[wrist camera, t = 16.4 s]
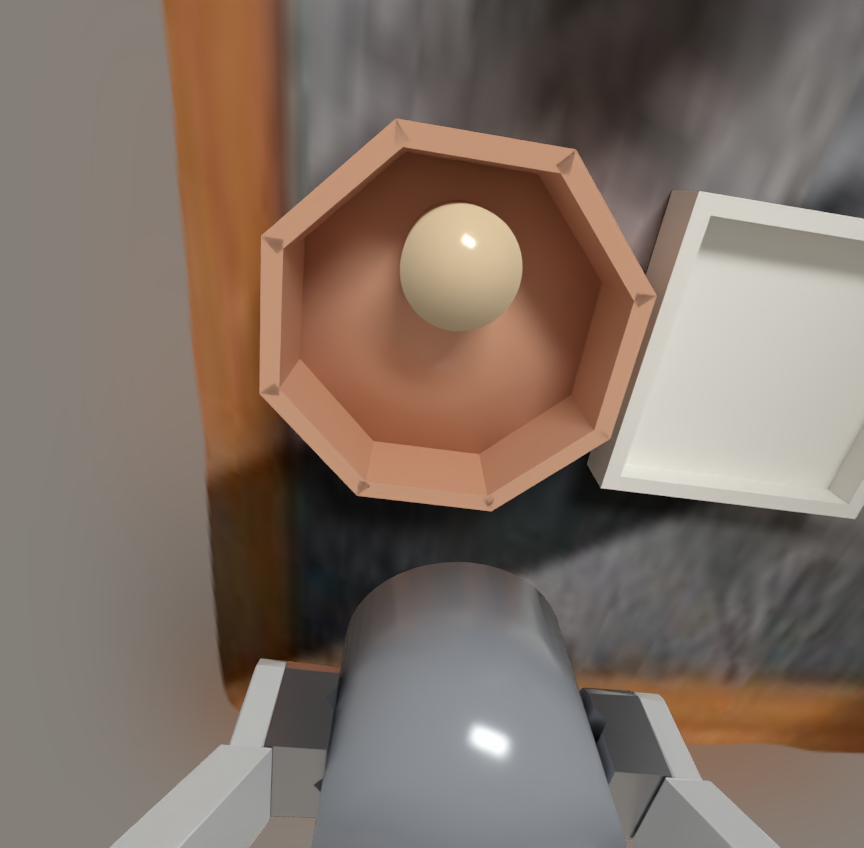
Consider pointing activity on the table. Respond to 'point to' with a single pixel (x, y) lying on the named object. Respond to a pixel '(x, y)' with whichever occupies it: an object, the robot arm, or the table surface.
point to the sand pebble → (460, 266)
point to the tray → (747, 361)
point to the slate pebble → (461, 723)
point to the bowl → (442, 349)
